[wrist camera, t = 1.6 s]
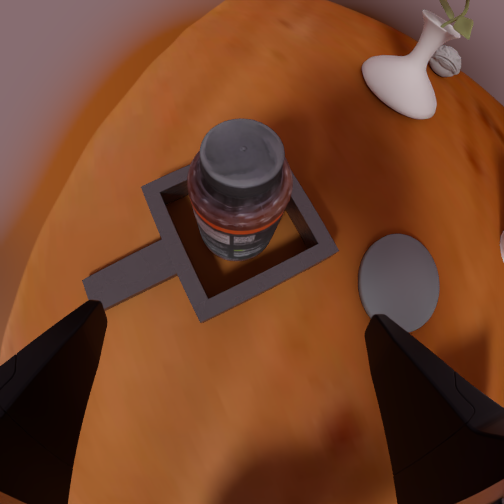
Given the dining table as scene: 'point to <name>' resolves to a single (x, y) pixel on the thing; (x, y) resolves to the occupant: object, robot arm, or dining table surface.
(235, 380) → the dining table surface
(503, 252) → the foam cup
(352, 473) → the dining table surface
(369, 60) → the flower in vase
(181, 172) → the square pan with handle
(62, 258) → the dining table surface
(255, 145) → the supplement bottle
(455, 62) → the lumpy white ball
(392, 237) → the coaster
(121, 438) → the dining table surface
